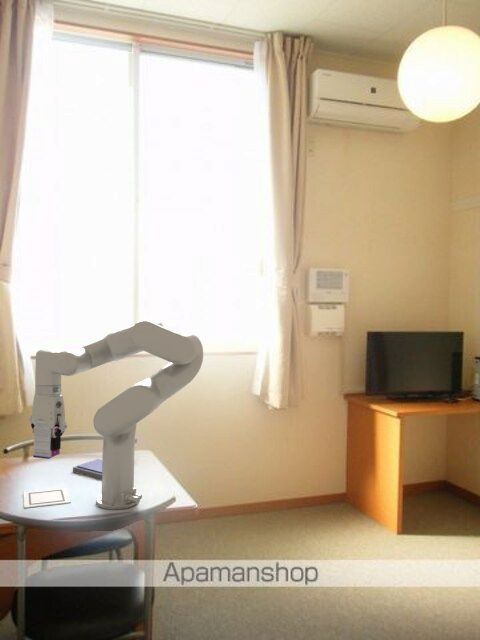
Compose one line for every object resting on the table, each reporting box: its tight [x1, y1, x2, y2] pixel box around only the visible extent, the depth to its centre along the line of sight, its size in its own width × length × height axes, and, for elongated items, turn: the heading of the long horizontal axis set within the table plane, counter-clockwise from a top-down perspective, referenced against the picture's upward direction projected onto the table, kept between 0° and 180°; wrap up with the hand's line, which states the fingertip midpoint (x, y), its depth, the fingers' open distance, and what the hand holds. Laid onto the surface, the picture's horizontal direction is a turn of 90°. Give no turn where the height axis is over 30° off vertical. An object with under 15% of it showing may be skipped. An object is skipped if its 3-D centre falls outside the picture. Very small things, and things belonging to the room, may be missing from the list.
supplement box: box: [32, 419, 61, 460], centre depth 165 cm, size 6×6×12 cm
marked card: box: [23, 487, 71, 509], centre depth 166 cm, size 13×13×1 cm
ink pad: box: [72, 458, 102, 480], centre depth 193 cm, size 14×12×2 cm
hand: (47, 447), depth 165 cm, fingers closed on supplement box, 7 cm apart
